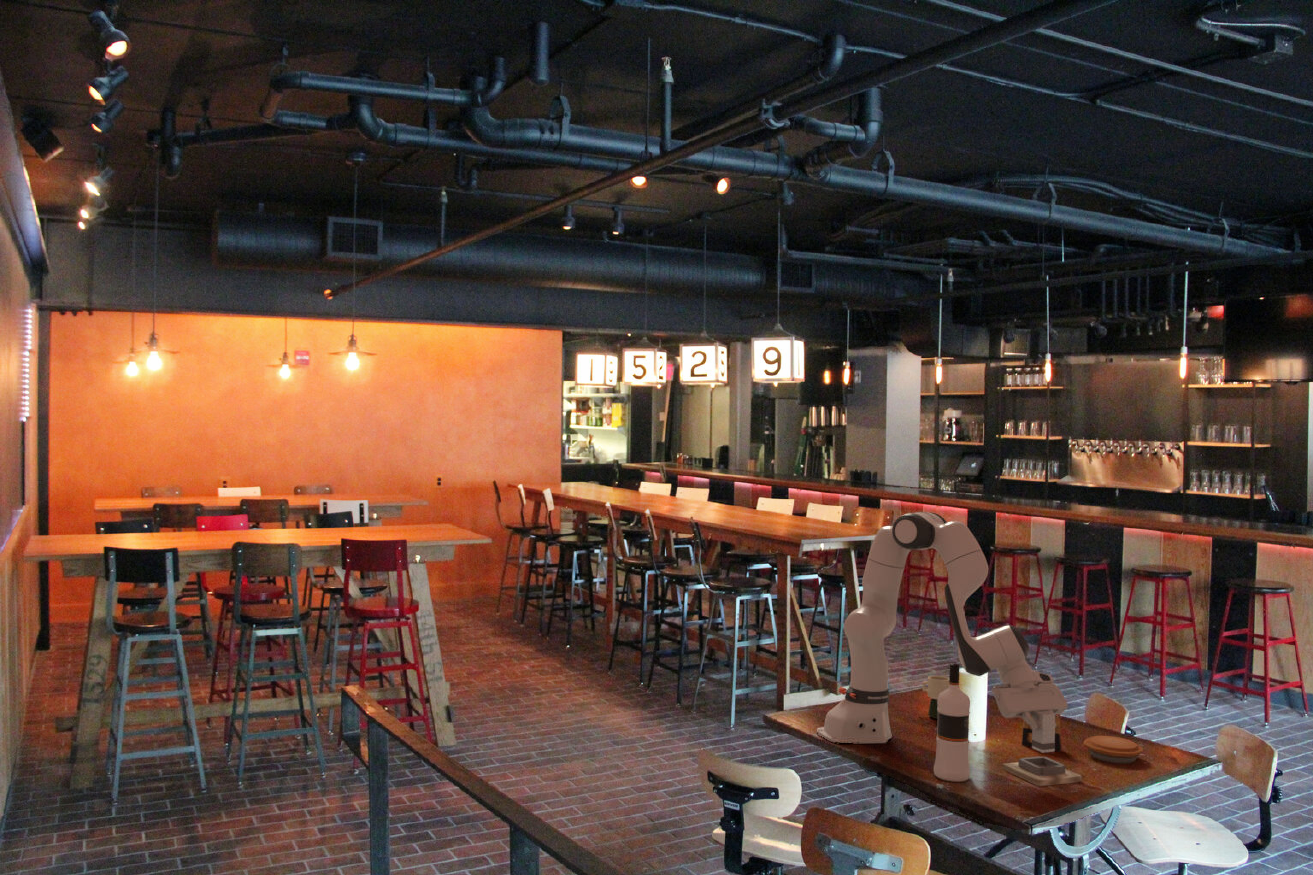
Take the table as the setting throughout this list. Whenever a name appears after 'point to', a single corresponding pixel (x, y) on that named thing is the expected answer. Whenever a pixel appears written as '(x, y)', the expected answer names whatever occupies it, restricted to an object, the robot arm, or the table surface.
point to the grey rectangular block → (1044, 731)
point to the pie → (1113, 749)
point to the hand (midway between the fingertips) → (1045, 728)
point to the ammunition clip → (1028, 735)
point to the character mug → (935, 692)
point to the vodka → (952, 731)
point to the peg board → (1042, 771)
